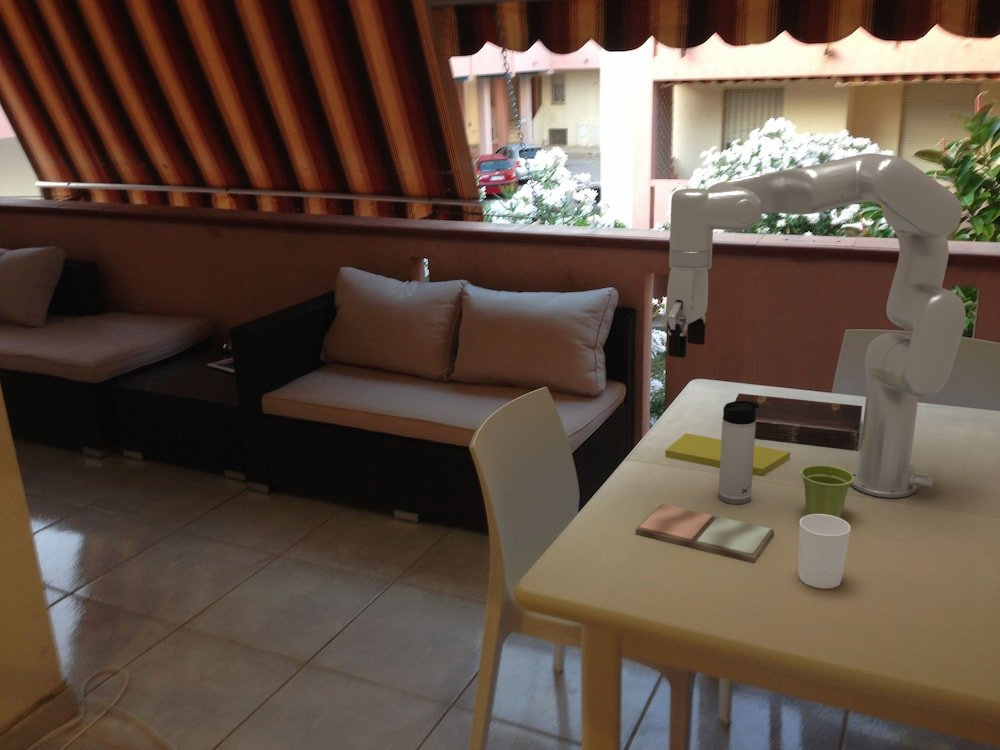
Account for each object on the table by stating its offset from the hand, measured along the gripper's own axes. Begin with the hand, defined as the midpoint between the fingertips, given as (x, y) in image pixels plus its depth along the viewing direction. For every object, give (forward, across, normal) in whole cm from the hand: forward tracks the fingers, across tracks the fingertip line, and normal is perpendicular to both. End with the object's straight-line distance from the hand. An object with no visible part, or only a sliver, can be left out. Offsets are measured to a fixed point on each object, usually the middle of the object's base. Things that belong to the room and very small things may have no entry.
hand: (686, 349), depth 173 cm
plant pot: (+32, -8, +25) cm, 41 cm away
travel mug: (+32, -8, +8) cm, 34 cm away
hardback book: (+32, -52, +8) cm, 62 cm away
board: (+32, +10, +8) cm, 34 cm away
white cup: (+32, +16, +30) cm, 47 cm away
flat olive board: (+32, -28, 0) cm, 43 cm away
